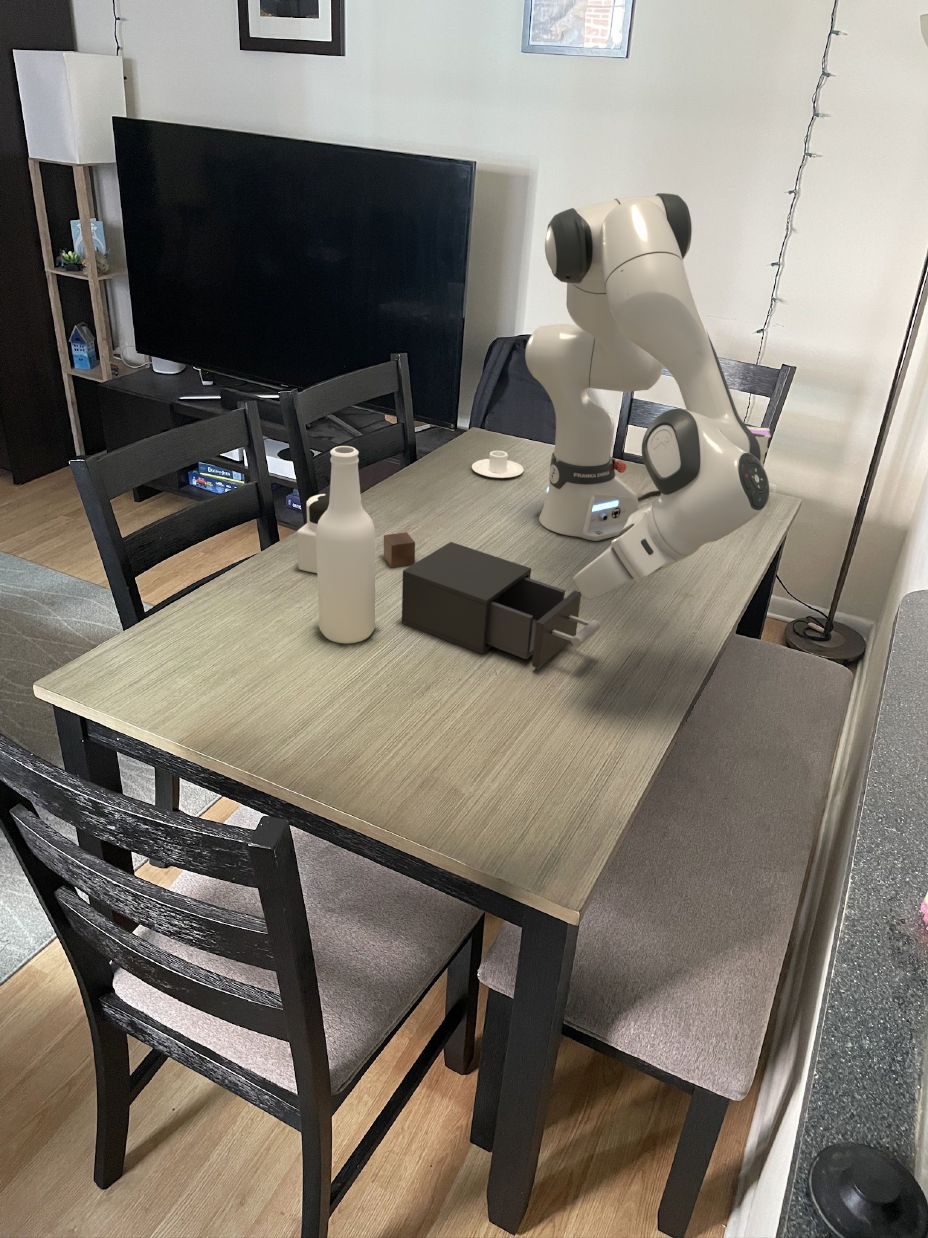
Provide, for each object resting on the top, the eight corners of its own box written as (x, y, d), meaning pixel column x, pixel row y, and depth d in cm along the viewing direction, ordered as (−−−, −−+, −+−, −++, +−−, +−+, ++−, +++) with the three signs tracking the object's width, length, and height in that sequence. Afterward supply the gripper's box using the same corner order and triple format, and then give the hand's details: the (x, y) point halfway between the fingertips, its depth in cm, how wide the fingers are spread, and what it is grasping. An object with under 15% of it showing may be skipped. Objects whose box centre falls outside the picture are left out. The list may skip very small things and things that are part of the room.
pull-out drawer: (604, 645, 140) (611, 601, 136) (568, 680, 131) (574, 635, 127) (498, 607, 149) (502, 565, 145) (457, 637, 140) (460, 594, 136)
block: (406, 554, 167) (406, 532, 164) (414, 564, 163) (415, 542, 161) (383, 557, 165) (383, 534, 163) (391, 567, 161) (391, 545, 159)
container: (355, 560, 163) (355, 494, 157) (337, 578, 157) (335, 510, 150) (317, 552, 165) (315, 487, 159) (297, 570, 159) (294, 502, 152)
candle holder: (474, 459, 212) (475, 442, 210) (524, 464, 211) (526, 446, 209) (469, 478, 202) (470, 459, 199) (522, 482, 201) (523, 464, 199)
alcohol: (385, 636, 141) (386, 455, 126) (334, 650, 137) (329, 464, 121) (359, 612, 147) (358, 436, 132) (310, 624, 143) (303, 444, 128)
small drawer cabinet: (526, 619, 148) (531, 568, 143) (482, 654, 138) (486, 600, 133) (448, 591, 155) (450, 541, 150) (401, 622, 145) (402, 570, 140)
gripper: (673, 493, 128) (603, 536, 137) (613, 541, 113) (539, 586, 122) (697, 530, 128) (625, 570, 138) (640, 582, 113) (564, 624, 123)
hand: (584, 578), depth 130 cm, fingers closed
